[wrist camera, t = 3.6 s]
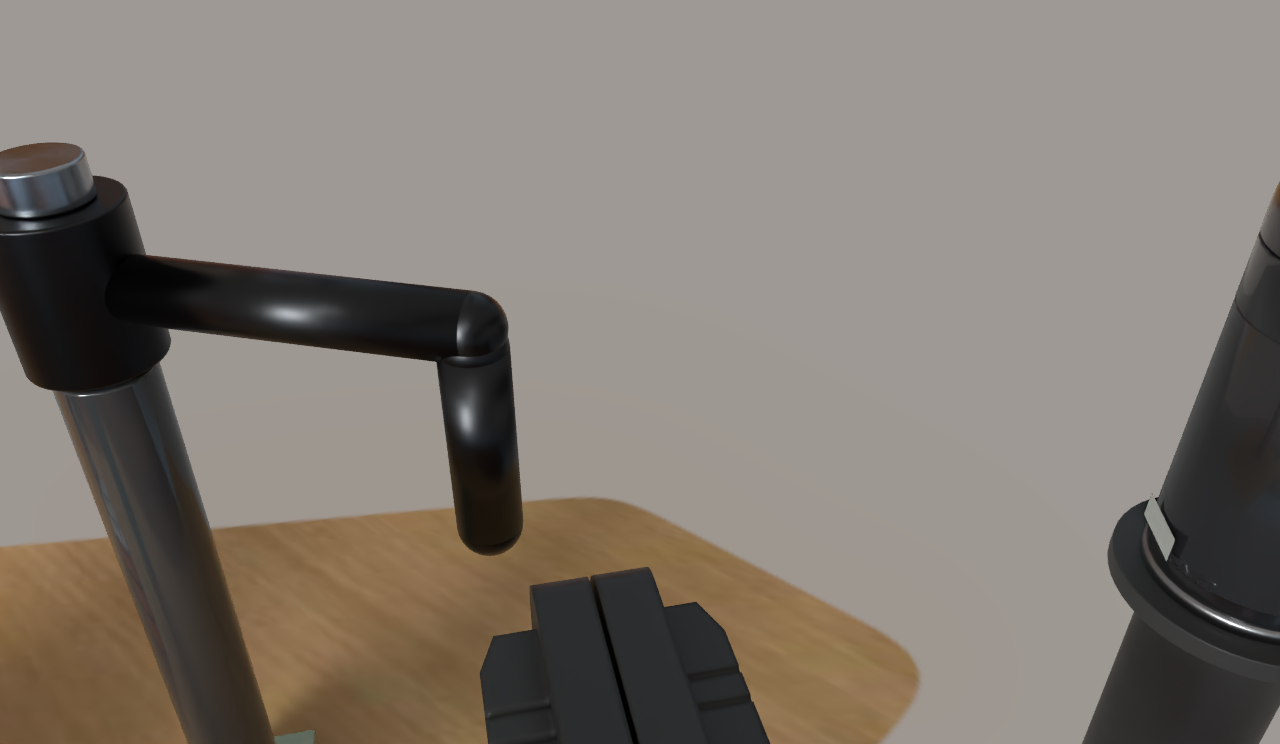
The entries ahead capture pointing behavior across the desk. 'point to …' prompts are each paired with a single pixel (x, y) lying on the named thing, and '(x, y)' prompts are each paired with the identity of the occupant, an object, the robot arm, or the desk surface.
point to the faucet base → (169, 557)
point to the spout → (240, 319)
